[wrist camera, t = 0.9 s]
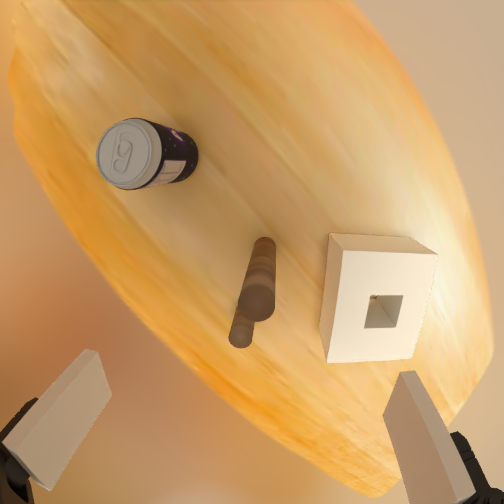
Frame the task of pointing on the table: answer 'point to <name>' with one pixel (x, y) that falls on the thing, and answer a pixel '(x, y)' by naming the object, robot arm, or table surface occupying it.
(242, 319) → the short pin
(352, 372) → the table surface
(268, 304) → the long pin
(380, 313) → the hole block
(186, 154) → the beverage can
